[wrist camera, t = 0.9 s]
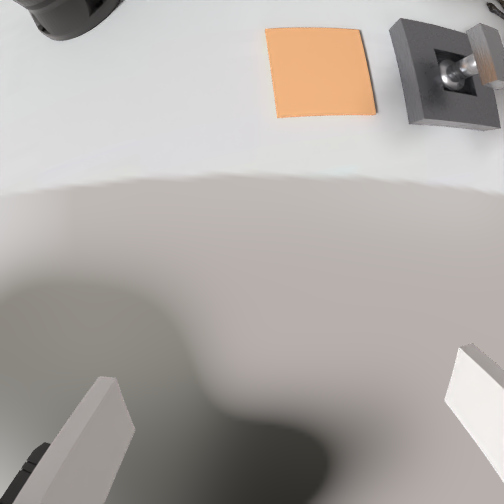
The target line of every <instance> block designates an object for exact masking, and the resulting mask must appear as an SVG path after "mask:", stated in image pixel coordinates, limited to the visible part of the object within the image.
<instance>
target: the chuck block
mask: <svg viewBox="0 0 504 504" xmlns="http://www.w3.org/2000/svg"><path fill="white" fill-rule="evenodd" d="M389 32H390V35H391V39H392V43H393V46H394V50H395V54H396V58H397V63H398V67H399V71H400V76H401V81H402V86H403V91H404V96H405V101H406V107H407V113H408V120H409V124H419V125H434V126H446V127H456V128H465V129H474V130H481V131H486V130H492V129H499V128H500V121H499V115H498V110H497V104H496V99H495V95H494V90H493V88H490V87H486V86H482V85H481V81H480V77H479V73H478V74H475V75H473V76H470V77H468V78H466V79H465V84H464V86H463V88H461V89H459V93H456V92H450V91H444V87H443V83H442V78H441V74H440V70H439V66H438V62H437V61H440V62H441V61H443V60H451V61H453V62H457V61H459V60H461V59H463V58H465V57H467V56H469V55H471V54H473V51H472V48H471V45H470V42H469V39H468V36H467V34H465V33H461V32H458V31H455V30H451V29H447V28H444V27H440V26H436V25H432V24H427V23H423V22H418V21H413V20H408V19H403V18H400V19H399V20H398V21H397V22H396V23H395V24H394V25H393V26H392V27H391V28H390V30H389Z"/></svg>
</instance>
